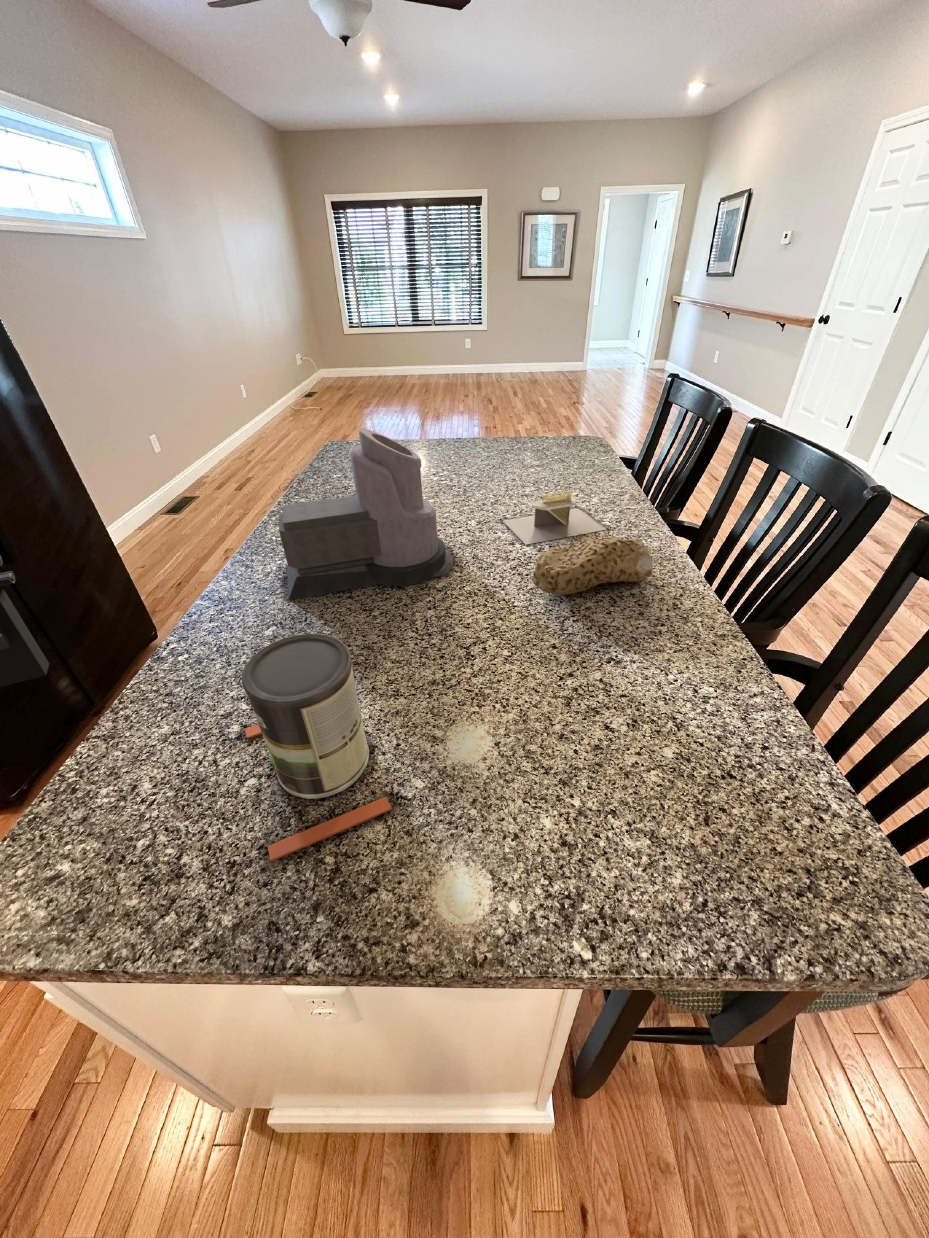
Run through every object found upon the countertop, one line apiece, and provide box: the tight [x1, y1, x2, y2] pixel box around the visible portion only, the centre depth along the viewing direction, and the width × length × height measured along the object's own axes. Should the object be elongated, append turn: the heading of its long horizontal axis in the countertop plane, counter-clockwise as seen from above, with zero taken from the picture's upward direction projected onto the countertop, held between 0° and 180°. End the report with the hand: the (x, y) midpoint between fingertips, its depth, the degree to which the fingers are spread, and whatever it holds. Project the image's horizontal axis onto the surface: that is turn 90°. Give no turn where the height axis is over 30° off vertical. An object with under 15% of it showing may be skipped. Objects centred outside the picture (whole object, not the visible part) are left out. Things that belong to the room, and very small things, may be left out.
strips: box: [244, 723, 393, 862], centre depth 57 cm, size 12×19×1 cm, turn 26°
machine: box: [278, 427, 454, 601], centre depth 87 cm, size 30×16×24 cm, turn 107°
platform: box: [502, 490, 607, 545], centre depth 105 cm, size 12×18×7 cm, turn 109°
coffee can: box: [241, 633, 370, 800], centre depth 54 cm, size 10×10×14 cm
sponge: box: [532, 537, 653, 596], centre depth 85 cm, size 13×8×20 cm
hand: (25, 674), depth 37 cm, fingers closed
